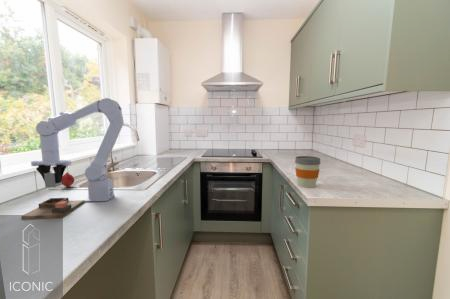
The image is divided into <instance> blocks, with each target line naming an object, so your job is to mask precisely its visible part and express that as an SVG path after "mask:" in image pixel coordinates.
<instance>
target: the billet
mask: <svg viewBox="0 0 450 299" xmlns="http://www.w3.org/2000/svg"><path fill="white" fill-rule="evenodd" d="M44 179H45V182H44V186H45V188H57V187H59V186H61V185H62V181H61V182H60V183H57V182H56V176H55V172H54V170H50V171H49V172H46V173H44ZM44 179H43V180H44ZM62 186H63V185H62Z"/></svg>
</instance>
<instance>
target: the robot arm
mask: <svg viewBox="0 0 450 299" xmlns="http://www.w3.org/2000/svg"><path fill="white" fill-rule="evenodd" d="M95 113H98V114H99V113H100V114H103V115H104V116H105V117H106V119H107V120H108V122H109V125H108V128H107V130H106V131H105V134H104V136H103V139H102V141H101V144H100V145H99V148H98V150H97V153H96V155H95V157H94V158H93V160H92V161H91V163H90V165H89V166H88V167H86V168H85V170H84V176H85V178H86V179H87V191H88V192H87V193H88V197H87V198H86V199H85V203H86V202H90V203H91V202H108V201H109V200H111V199H112V198H113V197H114V196H115V192H114V191H115V190H114V181H113V179H112V178H107V176H106V173H107V170H108V163H109V158H110V156H111V155H112V154H111V153H112V151H113V149H114V146H115V144H116V142H117V140H118V138H119V135H120V133H121V131H122V128H123V127H124V122H125V121H124V116H123V110H122V107H121V105H120V104H119V103H118V102H117V101H116V100H113V99H112V98H109V97H104V98H101V99H99V100H96V101H93V102H91V103H89V104H87V105H84V106H83V107H81V108H79V109H77V110H75V111H73V112H69V111H66V112H64V111H61V112H59V115H56V116H53V117H49V118H47V120H41V121H39V122H38V123H37V124H36V126H35V129H36V132H37V134H39V141H40V150H41V158H42V160H33V161H30V165H31V167H36V168H35V169H36V171H37V172H38V173H39V174H40V176H41V178H42V179H43V182H44V183H45V179H44V173H46V172H49V171H51V167H52V171H54V172H55V176H56V182H57V183H60V182H61V181H62V176H63V175H64V174H65V171H66V169H67V167H69V166H71V165H72V160H66V159H65V160H64V159H61V158H60V149H59V148H60V147H59V138H58V135H59V133H60V132H61V131H64V130H65V129H68V128H70V127H72V126H75V125H76V123H77V120H81V119H83V118H85V117H87V116H90V115H92V114H95Z"/></svg>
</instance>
